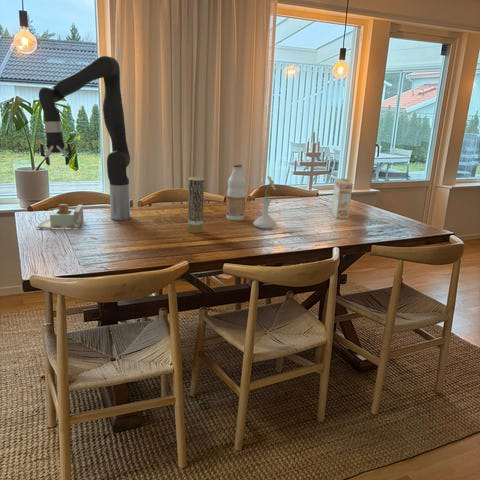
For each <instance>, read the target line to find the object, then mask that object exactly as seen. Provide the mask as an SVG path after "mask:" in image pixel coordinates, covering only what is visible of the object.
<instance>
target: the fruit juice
mask: <svg viewBox="0 0 480 480" xmlns="http://www.w3.org/2000/svg"><path fill="white" fill-rule="evenodd" d="M227 184H228V185H227V187H228V188H227V191H226V212H225V215H226V216H225V217H226V219H227V220H229V221H242V220H245V211H246V185H247V181H246V178H245V176H244V173H243V164H241V163H233V164H232V172H231V174H230V177H228V180H227Z"/></svg>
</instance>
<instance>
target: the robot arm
mask: <svg viewBox="0 0 480 480" xmlns="http://www.w3.org/2000/svg"><path fill="white" fill-rule="evenodd" d="M120 71H121V69H120V64H119V62H118V60H117V59H116V58H115V57H111V56H109V55H101V56H99V57H97V58H96V59H95V60H93V62H91V63H89V64H88V65H86V66H85V67H84V68H82V69H81V70H79V71H77V72H75V73H73V74H71V75H69V76H67V77H65V78H62V79H60V80H59V81H57V83H56V84H55V85H54V86H51V87H50V86H45V87H41V88H40V89H39V91H38V99H39V103H40V106H41V109H42V111H43V117H44V130H45V138H46V143H43V142H42V143H40V144H39V145H40V146H39V147H40V156H41V157H44V158H45V163H46V165H47V166H50V165H51V161H50V157H49V156H50V155H51V154H52V153H53V154H54V153H61V154H62V155H63V156H64V159H65V165H66V166H69V164H70V157H71V156H72V155H73V149H72V143H71V142H68V143H65V142H64V133H63V126H62V122H61V114H60V110H59V109H58V108H56V105H55V103H58V102H60V101H62V100H63V99H64V98H66V97H68V96H69V95H72V94H73V93H76V92H78V91H80V90H81V89H83V88H84V87H85V86H86V85H87V84H89V83H91V82H93V81H95V80H98V79H102V78H103V82H104V83H103V85H104V96H103V103H102V112H103V113H102V114H103V120H104V125H105V128H106V130H107V133H108V134H109V137H110V141H111V150H112V152H109V154H108V155H107V157H106V169H107V170H106V171H107V179H108V180H109V182H108V183H109V201H110V202H109V204H110V219H112V220H117V221H125V220H130V219H131V204H130V203H131V201H130V179H129V176H128V175H127V167H129V165H130V163H131V156H130V152H129V148H128V142H127V135H126V124H125V123H126V122H125V115H124V114H125V113H124V106H123V99H122V92H121V72H120ZM45 148H47V149H48V150H47V151H46V153H45ZM64 148H66V149H67V151H68V152H67V151H66V150H65V149H64Z"/></svg>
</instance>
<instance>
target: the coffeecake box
mask: <svg viewBox="0 0 480 480" xmlns="http://www.w3.org/2000/svg"><path fill="white" fill-rule="evenodd" d="M353 185H354V184H353V183H352V182H351V181H349V180H348V179H346V178H334V184H333V196H332V203H331V214H332V216H334V218H335V219H340V220H349V215H350V207H351V199H352V192H353V191H352V190H353Z"/></svg>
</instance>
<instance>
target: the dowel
mask: <svg viewBox="0 0 480 480" xmlns="http://www.w3.org/2000/svg"><path fill="white" fill-rule="evenodd" d="M58 209H59V214H69V211H68V209H69V204H67V203H60V204H58Z"/></svg>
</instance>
